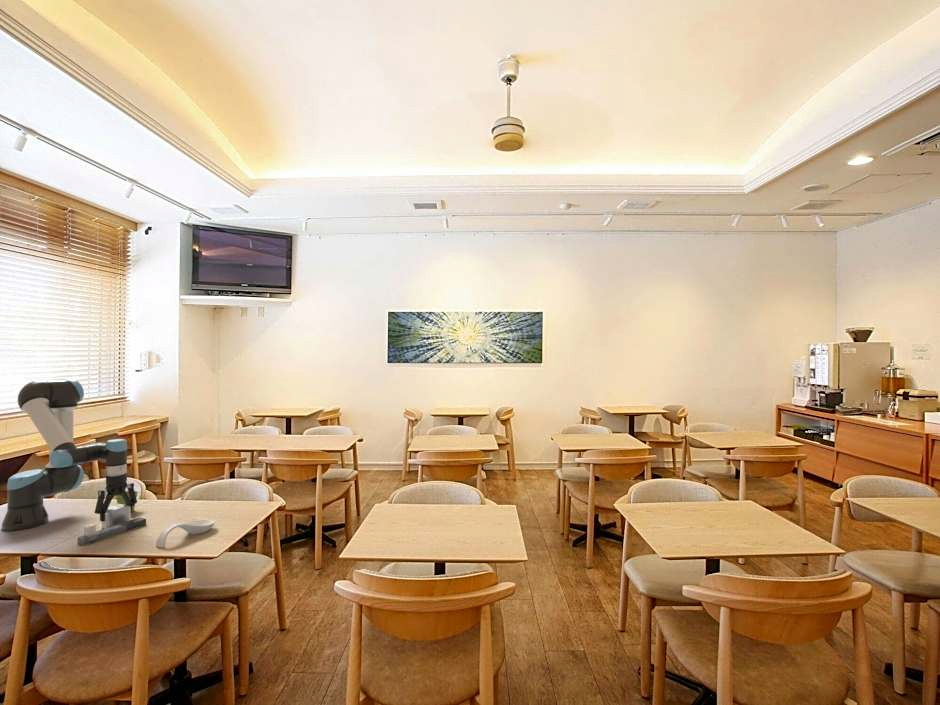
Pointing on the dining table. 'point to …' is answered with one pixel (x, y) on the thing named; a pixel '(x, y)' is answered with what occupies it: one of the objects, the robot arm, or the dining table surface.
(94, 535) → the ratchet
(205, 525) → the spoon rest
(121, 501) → the plant pot
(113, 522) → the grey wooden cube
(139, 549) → the dining table surface
